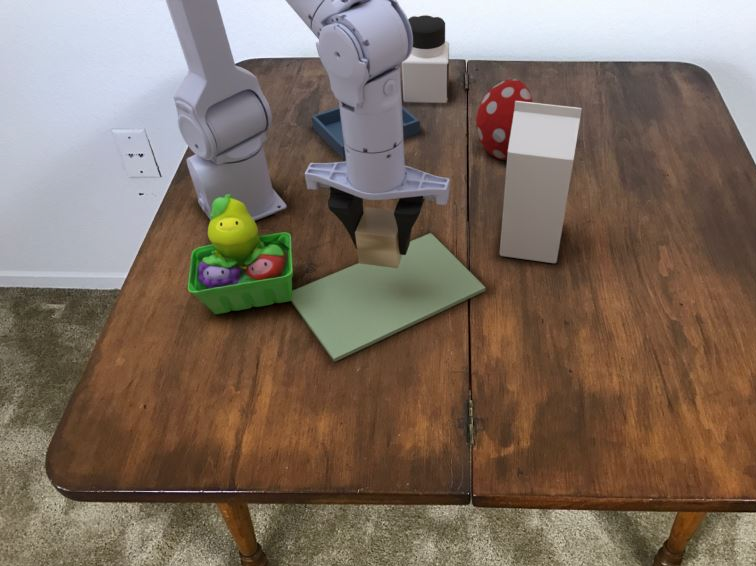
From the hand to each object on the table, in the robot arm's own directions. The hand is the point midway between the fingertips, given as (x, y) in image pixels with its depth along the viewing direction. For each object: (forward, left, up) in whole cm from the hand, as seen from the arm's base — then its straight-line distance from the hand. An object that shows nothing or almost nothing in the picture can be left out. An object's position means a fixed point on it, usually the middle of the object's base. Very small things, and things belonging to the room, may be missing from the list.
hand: (382, 246), depth 75 cm
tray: (+15, +32, -7) cm, 36 cm away
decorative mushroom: (+32, +15, -7) cm, 36 cm away
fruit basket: (-13, +9, -7) cm, 17 cm away
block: (0, 0, -1) cm, 1 cm away
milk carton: (+20, -2, -7) cm, 21 cm away
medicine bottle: (+29, +37, -7) cm, 47 cm away
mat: (0, 0, -7) cm, 7 cm away
